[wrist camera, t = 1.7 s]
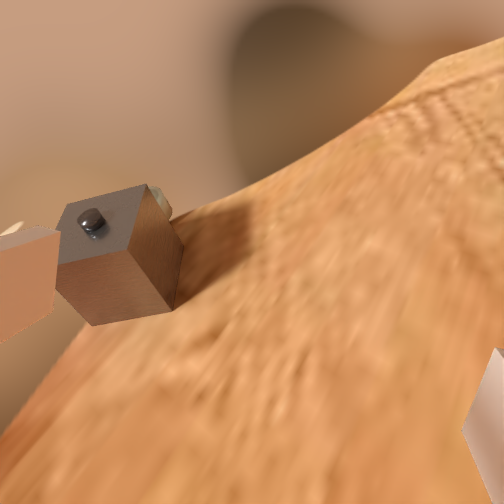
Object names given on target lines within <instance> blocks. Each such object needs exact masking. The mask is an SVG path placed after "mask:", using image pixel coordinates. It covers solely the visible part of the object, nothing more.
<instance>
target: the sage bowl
mask: <svg viewBox="0 0 504 504" xmlns="http://www.w3.org/2000/svg"><path fill="white" fill-rule="evenodd" d="M149 189H150V191H151V192H152V194H153V196H154V197H155V199H156V201H157V202H158V204H159V206H160V207H161V209H162V211H163V212H164V214H165V216H166V217H167V219H168V221H169V219H170V217H171V215H172V208H171V206H170V205H169V203H168V201H167V199H166V198H165V196H164V194H163V193H162V191H161V189H160V188H158V187H149Z"/></svg>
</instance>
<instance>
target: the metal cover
mask: <svg viewBox="0 0 504 504" xmlns="http://www.w3.org/2000/svg"><path fill="white" fill-rule="evenodd" d="M55 230H57V231H61V234H60V244H59V254H58V265H57V275H56V285H55V289H56V290H57V291H58V292H59V293H60V294H61V295H62V296H63V297H64V298H65V299H66V300H67V301H68V302H69V303H70V304H71V305H72V306H73V307H74V309H75V310H76V311H77V312H78V313H80V315H81V316H82V317H83V318H84V319H85V320H86V321H87V322H88V323H89V324H90V325H91V326H96V325H101V324H106V323H112V322H117V321H123V320H128V319H133V318H139V317H144V316H150V315H155V314H160V313H166V312H171V311H172V310H173V304H174V298H175V293H176V287H177V281H178V275H179V270H180V264H181V258H182V252H183V247H184V246H183V244H182V242H181V241H180V239H179V237H178V236H177V234H176V232H175V231H174V229H173V227H172V226H171V224H170V222H169V221H168V219H167V217H166V216H165V214H164V212H163V211H162V209H161V207H160V206H159V204H158V202H157V201H156V199H155V197H154V196H153V194H152V192H151V191H150V189H149V187H148V186H147V184H143V185H139V186H135V187H132V188H128V189H124V190H120V191H116V192H112V193H108V194H105V195H101V196H97V197H94V198H89V199H85V200H82V201H78V202H74V203H70V204H67V206H66V208H65V210H64V212H63V214H62V216H61V219H60V221H59V223H58V225H57V227H56V229H55Z"/></svg>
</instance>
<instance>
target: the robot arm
mask: <svg viewBox="0 0 504 504" xmlns="http://www.w3.org/2000/svg"><path fill="white" fill-rule="evenodd" d="M60 234H61V231H57V230H54V229H50V228H46V227H42V226H35V227H31V228H28V229H25V230H21V231H18V232H14V233H11V234H7V235H4V236H0V344H1V343H2V342H4V341H6V340H7V339H9V338H11V337H12V336H14V335H15V334H17V333H19V332H20V331H22V330H24V329H25V328H27V327H29V326H30V325H32V324H34V323H35V322H37V321H38V320H40V319H42V318H43V317H45V316H46V315H48V314H50V313H51V312H53V306H54V295H55V285H56V275H57V265H58V254H59V244H60ZM462 433H463V435H464V438H465V440H466V442H467V445H468V447H469V449H470V452H471V454H472V456H473V459H474V461H475V464H476V466H477V468H478V471H479V473H480V475H481V478H482V480H483V483H484V485H485V487H486V490H487V492H488V494H489V497H490V499H491V501H492V504H504V349H500V348H497V347H495V348H494V351H493V353H492V356H491V358H490V361H489V363H488V366H487V368H486V370H485V373H484V375H483V378H482V380H481V383H480V385H479V388H478V390H477V393H476V395H475V398H474V400H473V403H472V405H471V408H470V410H469V413H468V415H467V418H466V420H465V423H464V425H463V428H462Z"/></svg>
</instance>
